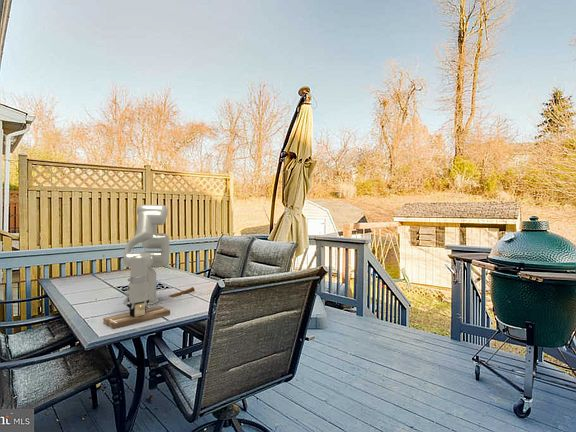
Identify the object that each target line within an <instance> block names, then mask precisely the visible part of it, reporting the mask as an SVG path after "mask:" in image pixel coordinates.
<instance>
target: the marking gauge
mask: <svg viewBox="0 0 576 432" xmlns="http://www.w3.org/2000/svg"><path fill="white" fill-rule="evenodd" d="M141 315H145V303H144V302H139V303H135V304H134V317H137V316H141Z"/></svg>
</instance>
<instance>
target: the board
mask: <svg viewBox="0 0 576 432" xmlns="http://www.w3.org/2000/svg"><path fill="white" fill-rule="evenodd" d="M167 316H171V310H170V309H168V308H165V307H163V306H161V305H157V306H151V307H148V308H147V307H146V312H145V315H141V316H137V317H132V316H130V311H129V312H125V313H120V314H117V315H112V316H107V317H103V319H102V320H103V321H102V322H103V324H104V325H105V324H106V326H107V327H109V328H111V329H112V330H116V328H117V329H120V327H121V328H125V327H128V326H131V325H132V326H133V325H135V324H139V323H143V322H147V321H151V320H155V319H159V318H163V317H167Z"/></svg>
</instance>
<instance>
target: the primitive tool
mask: <svg viewBox="0 0 576 432" xmlns="http://www.w3.org/2000/svg"><path fill="white" fill-rule="evenodd" d="M192 291H194V292H195V291H196V290H195V287H194V286H191V287H190V288H188V289H184V290H182V291H180V292H176V293H173V294H169V295H168V297H169V298H177V297H180V296H183V295H185V294H189V293H193V292H192ZM188 292H189V293H188ZM182 294H183V295H182Z"/></svg>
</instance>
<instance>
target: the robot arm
mask: <svg viewBox="0 0 576 432" xmlns="http://www.w3.org/2000/svg"><path fill="white" fill-rule="evenodd" d="M136 213H137V220H136V221H137V224H136V231H135V235H134V236H133V237H132V238H130V240H129V241H128V242H127V244H126V245H125V248H124V253H123V260H122V261H123V266H124V267H126V268H130V271H129V272H130V274H129V275H130V276H129V278H127V281H128V282H129V283H128V286H127V292H126V298H125V299H124V300H123V302H122V304H123V305H125V306H126V307H128V308H129V312H130V316H132V317H134V304H135V303H139V302H144V303H145V312H146V309H147V306H150V305H156V304H158V303H159V299H158V298H157V271H156V270H155V269H154V268H153V267H166V266H168V265H169V263H170V237H169V235H168V233H163V232H162V233H158V226H163V225H165V223H166V220H167V217H168V214H169V210H168V207H167V206H166V205H164V204H140V205H138V206H137V207H136ZM139 244H141V246H142V248H143V249H146V251H145V250H144V251H141V252H131V251H132V250H133V249H134V248H135V246H137V245H139ZM148 249H151V250H148ZM152 249H154V250H152ZM155 249H157V250H155ZM158 249H160V250H158Z"/></svg>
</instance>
